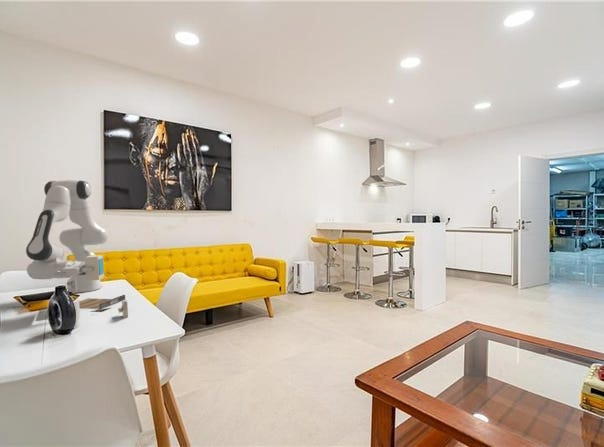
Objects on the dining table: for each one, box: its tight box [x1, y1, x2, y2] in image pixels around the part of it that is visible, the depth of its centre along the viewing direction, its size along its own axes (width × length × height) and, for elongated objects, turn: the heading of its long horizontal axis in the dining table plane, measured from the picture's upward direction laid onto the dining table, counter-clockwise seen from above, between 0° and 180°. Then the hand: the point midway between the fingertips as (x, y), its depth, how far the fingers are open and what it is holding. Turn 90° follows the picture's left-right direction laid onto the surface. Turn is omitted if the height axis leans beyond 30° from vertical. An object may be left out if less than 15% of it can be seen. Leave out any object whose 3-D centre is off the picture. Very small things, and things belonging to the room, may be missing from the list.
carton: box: [85, 254, 105, 281], centre depth 163 cm, size 6×6×12 cm
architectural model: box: [117, 300, 129, 319], centre depth 146 cm, size 3×7×7 cm, turn 34°
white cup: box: [72, 301, 80, 330], centre depth 133 cm, size 8×8×10 cm
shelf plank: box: [78, 294, 126, 313], centre depth 163 cm, size 23×16×4 cm
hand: (96, 267), depth 163 cm, fingers closed on carton, 6 cm apart
